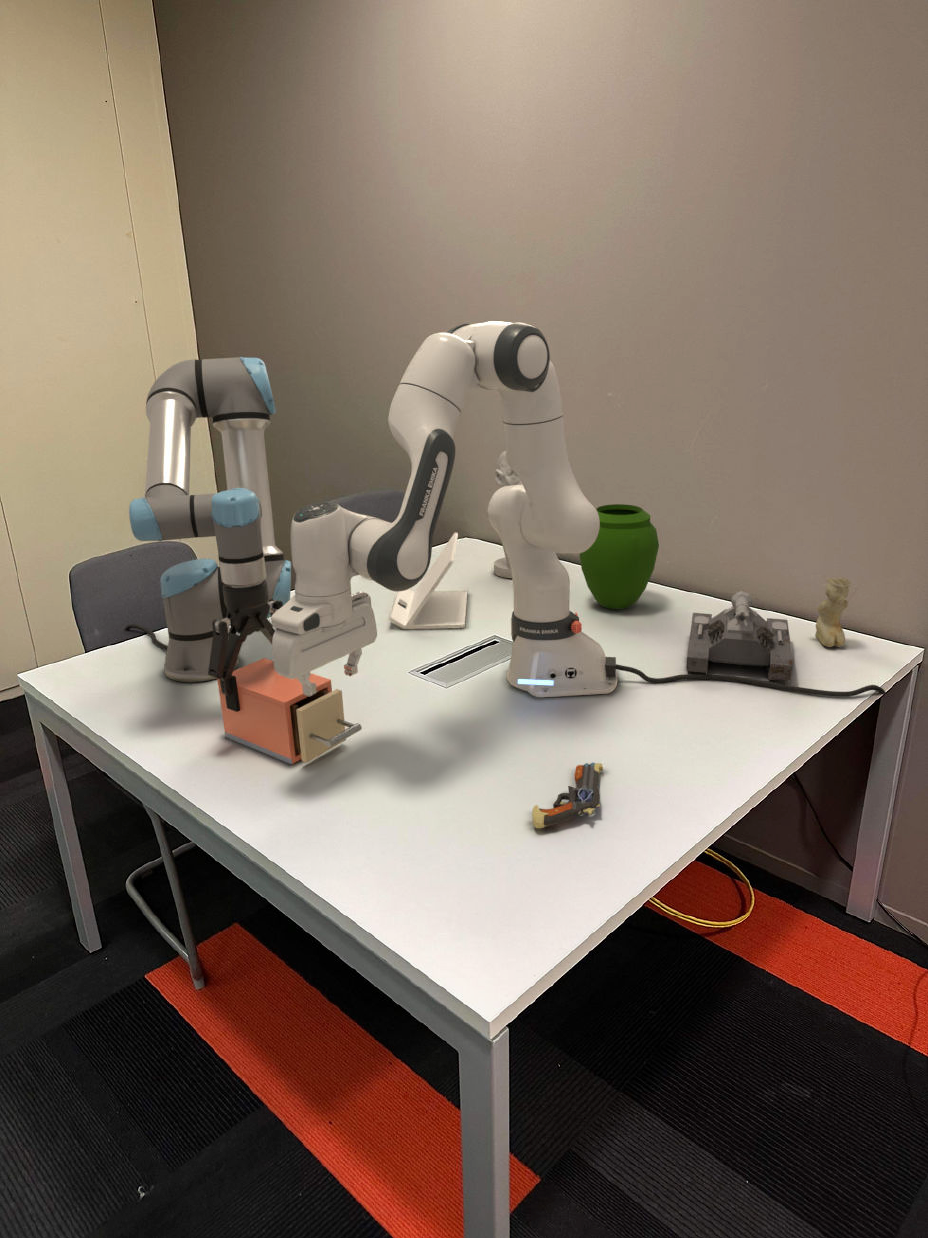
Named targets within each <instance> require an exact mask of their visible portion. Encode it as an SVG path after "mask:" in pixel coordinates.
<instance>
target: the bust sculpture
mask: <svg viewBox="0 0 928 1238" xmlns="http://www.w3.org/2000/svg"><path fill="white" fill-rule="evenodd" d="M494 480H495V482H496V484H497V486H498V487H501V488H502V487H504V486H511V485H523V484H522V482H521V480H520V479H519V477H518V476H517V474H516V473H515V472H514V471H513V470H512V469H511V467H510V466H509V464H508V461H507V457H506V450H504V451H502V452H501V454H500V455H499V457H498V459H497V461H496V468H495V471H494ZM485 514H486V517H488V509H486V513H485ZM499 540H500V542H501V546H502V548H503V553H504V557H502V558H498V559H496V560H495V561H494V562H493V573H494V574H495V575H496V576H497V577H500V578H506V579H513V578H512V572H511V567H510V564H509V560H508V557H507V554H506V551H505V548H504V545H503V543H502V541H501V539H500V538H499Z"/></svg>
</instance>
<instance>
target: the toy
mask: <svg viewBox="0 0 928 1238" xmlns="http://www.w3.org/2000/svg"><path fill="white" fill-rule="evenodd" d="M752 604H753V598H752V595H751V594H750V593H748V592H747V591H737V592H736V593H735V594H733V596H732V597H731V605H732V606H731V607H729V608H725V609H724V610H722V611H721V612H719V613H718V614H716V615H714V616H713V614H712V613H702V612H701V613H700V612H692V617H691V625H690V632H689V639H688V645H687V653H686V654H687V655H686V665H685V670H686V672H687V674H708V670H709V669H708V667H709V661H710V662H712V663H715V664H716V663H717V664H727V665H728V664H729V665H730V664H731V665H741V666H752V667H767V668H766V669H767V681H775V682H786V683H787V682H789V681H791V679H792V676H793V675H792V674H793V669H794V658H793V650H792V643H791V637H790V629H789V623H788V619H786V618H785V619H783V618H771V617H767V618H766V620H765V619H764V618H763V617H762V616H761V615H760V614H759V613H758V612H757V611H756V610H754V609H752V608H751V607H752Z"/></svg>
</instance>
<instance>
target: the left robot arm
mask: <svg viewBox="0 0 928 1238" xmlns="http://www.w3.org/2000/svg"><path fill="white" fill-rule="evenodd" d="M145 402H146V403H145V415H146V418H147V420H148V421H149V434H148V448H147V459H146V460H147V461H146V471H145V472H146V475H145V485H144V487H145V488H144V496H142V497H140V498H134V499H132V500H131V502H130V503H129V507H128V516H129V524H130V529H131V532H132V535H133V537H134V538H135V539H136V540H137V541H140V542H162V541H163V542H164V541H174V540H185V539H194V538H196V539H197V538H210V537H215V541H216V548H217V554H218V556H217V557H218V563H217V561H216V560H215V559H213V558H197V559H192V560H187V561H183V562H180V563H178V564H176V565H173V566H170V567H169V568H167V569H166V570H165V571H164V572H162V574H161V576H160V590H161V592H160V597H161V598H162V603H163V608H164V615H165V621H166V627H167V634H168V643H167V644H166V643H165V644H164V643H162V642H161V641H159V639H157V636H156V634H155V632H154V631H152V630H150V629H148V628H147V627H145V626H142V625H139V624H136V623H130V624H128V625H126V626H125V627H124V629H123V630H124V631H125V632H127V631H129V630H131V629H137V630H140V631H141V632H144V633H145V634H148V635H149V636H150V637H151V641H152V642H153V643H154V644H155V645H156V646H158V647H159V648H161V649H164V650H166V653H165V659H164V665H163V666H164V672H165V676H166V677H167V678H169V679H170V680H172V681H175V682H181V683H200V682H208V681H212V680H215V679H216V680H217V679H220V686H221V692H222V694H224V695H225V697H226V705H227V708H228V709H230V710H233V711H235V712H238V711H240V704H239V697H238V689H237V681H236V677H235V676H233V675H232V673H233V671H235V670H237V668H238V666H239V664H240V662H239V656H240V653H241V649H242V646H243V644H244V642H246V640H247V638H248V636H251V635H252V634H254V633H256V632H257V633H258V632H261V633H262V634H263V636H264V637H265V639H267V641H268V642H269V643H270V644H271V645H272V639H273V635H274V632H275V631H276V630H277V629H278V628H276V629H274V628H275V627H274V626H273V625H272V622H271V621H270V620H269V618H271V617H272V615H273V614H274V613H275V612H276V611H278V610H279V609H280V608H281V607H282V606H284V605H285V604H286V603H287V602H288V601H289V600H290V599H291V590H292V589H291V588H292V561H290V560H288V559H285V555H284V552H283V550H281V549H280V548H278V546H277V545H276V538H275V528H274V520H273V519H274V518H273V509H272V499H271V490H270V480H269V473H268V472H269V471H268V461H267V450H266V441H265V430H266V429H267V428H268V427H269V426H270V425H271V418H270V417H271V416H274V415H275V414H277V409H276V405H275V400H274V396H273V392H272V388H271V383H270V379H269V375H268V370H267V366H266V364H265V362H264V361H263V360H262V359H261V358H259V357H243V356H238V357H223V358H222V357H221V358H205V359H203V358H202V359H194V358H193V359H186V360H182V361H179V362H177V363H175V364H172V365H171V366H170V367H169V368H167V369H166V370H165V371H163V372H162V373H161V374H160V375H159V376H158V377H157V378H156V380H155V381H154V382H153V384H152V386H151V387H150V390H149V391H148V394H147V397H146V401H145ZM201 418H204V419H205V418H212V426H213V427H214V428H215V429H216V430H217V431H219V433H220V434H221V440H222V449H223V451H222V452H223V461H224V469H225V477H226V479H225V480H226V488H227V489H226V490H222V491H219V492H217V493H216V492H215V493H204V494H202V493H201V494H190V481H191V480H190V479H191V478H190V476H191V474H190V473H191V438H192V435H191V434H192V433H191V432H192V427H193V425H194V424H195V422H196V420H197V419H201ZM218 564H219V565H218ZM238 634H239V635H238Z"/></svg>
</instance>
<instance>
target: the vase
mask: <svg viewBox="0 0 928 1238" xmlns="http://www.w3.org/2000/svg"><path fill="white" fill-rule="evenodd" d="M595 509H596V510H597V512H598V515H599V520H600V528H599V533H598V536H597V538H596V540H595V542H594V543H593V545H592V546H591V547H590V548H589V549H588V550H586V551H585V552H582V553H578V554H579V562H580V569H581V571H582V574H583V577H584V580H585V583H586V585H587V588H588V590H589V591H590V594H592V597H593V598H594V600H595V601H596V602H597V603H598V604H599V605H600V606H602V607H604V608H606V609H609V610H625V609H628V608H630V607H632V606H634V604H636V602H638V601H639V599H640V597H641V596H642V595H643V593H644V592H645V590H646V588H647V586H648V584H649V581H650V579H651V577H652V574H653V572H654V570H655V566H656V562H657V557H658V552H659V548H660V544H659V543H660V542H659V537H658V531H657V528H656V527H655V526H654V524H653V523H652V522H651V515H650V514H649V512H647V511H645V510H644V509H643V508H642V507H641V506H638V505H633V504H622V503H621V504H619V503H616V504H615V503H614V504H604V505H601V506H598V507H597V508H595Z"/></svg>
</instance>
